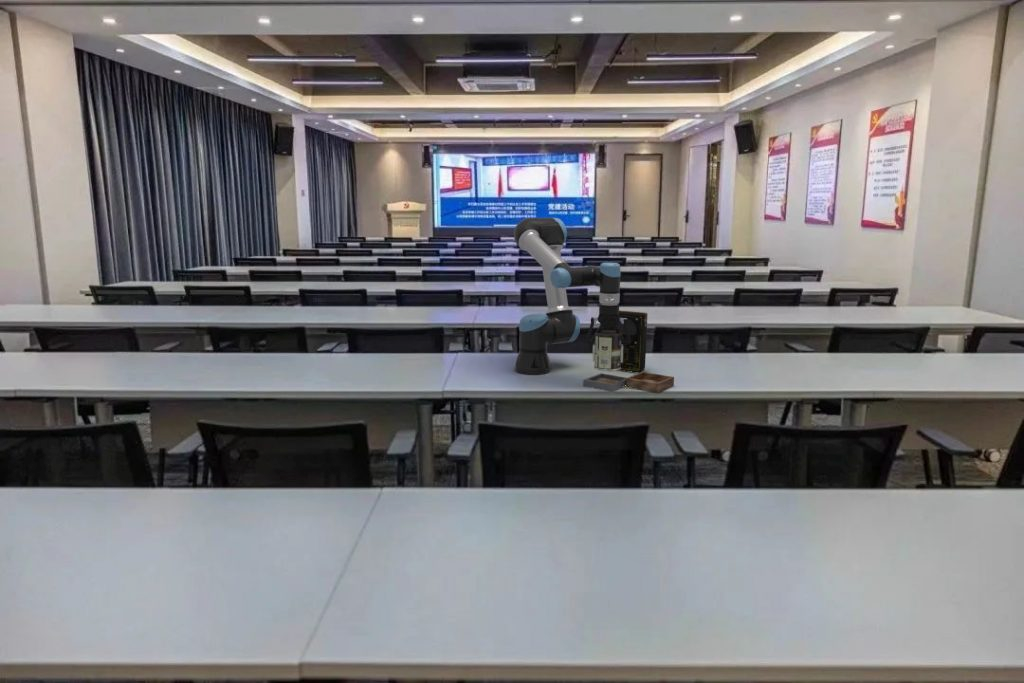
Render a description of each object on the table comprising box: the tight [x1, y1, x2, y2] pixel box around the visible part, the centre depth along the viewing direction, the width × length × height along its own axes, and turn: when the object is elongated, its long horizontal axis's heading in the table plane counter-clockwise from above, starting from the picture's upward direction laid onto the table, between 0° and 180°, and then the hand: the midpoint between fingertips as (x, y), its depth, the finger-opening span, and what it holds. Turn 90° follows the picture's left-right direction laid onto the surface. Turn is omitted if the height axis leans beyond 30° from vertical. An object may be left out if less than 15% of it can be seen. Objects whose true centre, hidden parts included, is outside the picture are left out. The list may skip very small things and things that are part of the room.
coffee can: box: [593, 329, 622, 372], centre depth 263 cm, size 10×10×14 cm
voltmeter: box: [607, 309, 648, 374], centre depth 288 cm, size 16×9×25 cm, turn 62°
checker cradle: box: [582, 372, 627, 393], centre depth 266 cm, size 13×13×2 cm
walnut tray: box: [625, 371, 675, 394], centre depth 264 cm, size 14×14×4 cm
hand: (607, 361), depth 264 cm, fingers closed on coffee can, 10 cm apart
